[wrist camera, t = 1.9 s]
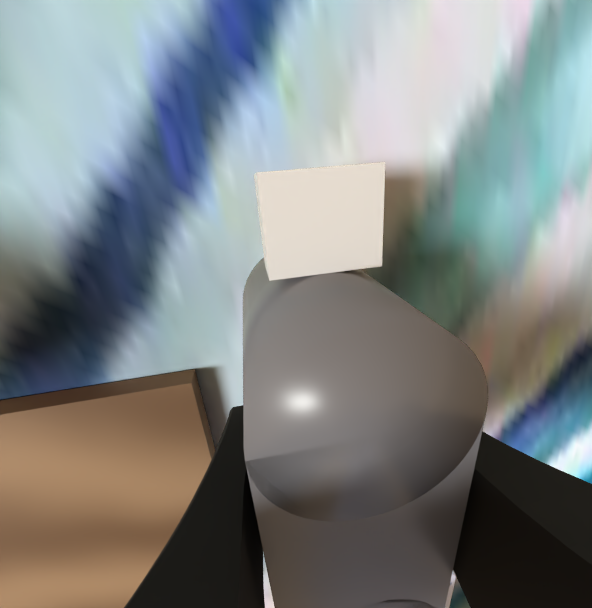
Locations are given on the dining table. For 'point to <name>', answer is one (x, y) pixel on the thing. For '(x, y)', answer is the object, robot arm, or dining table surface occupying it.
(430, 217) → the dining table surface
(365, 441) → the grey rounded piece
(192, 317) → the dining table surface
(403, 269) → the dining table surface
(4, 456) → the walnut board
